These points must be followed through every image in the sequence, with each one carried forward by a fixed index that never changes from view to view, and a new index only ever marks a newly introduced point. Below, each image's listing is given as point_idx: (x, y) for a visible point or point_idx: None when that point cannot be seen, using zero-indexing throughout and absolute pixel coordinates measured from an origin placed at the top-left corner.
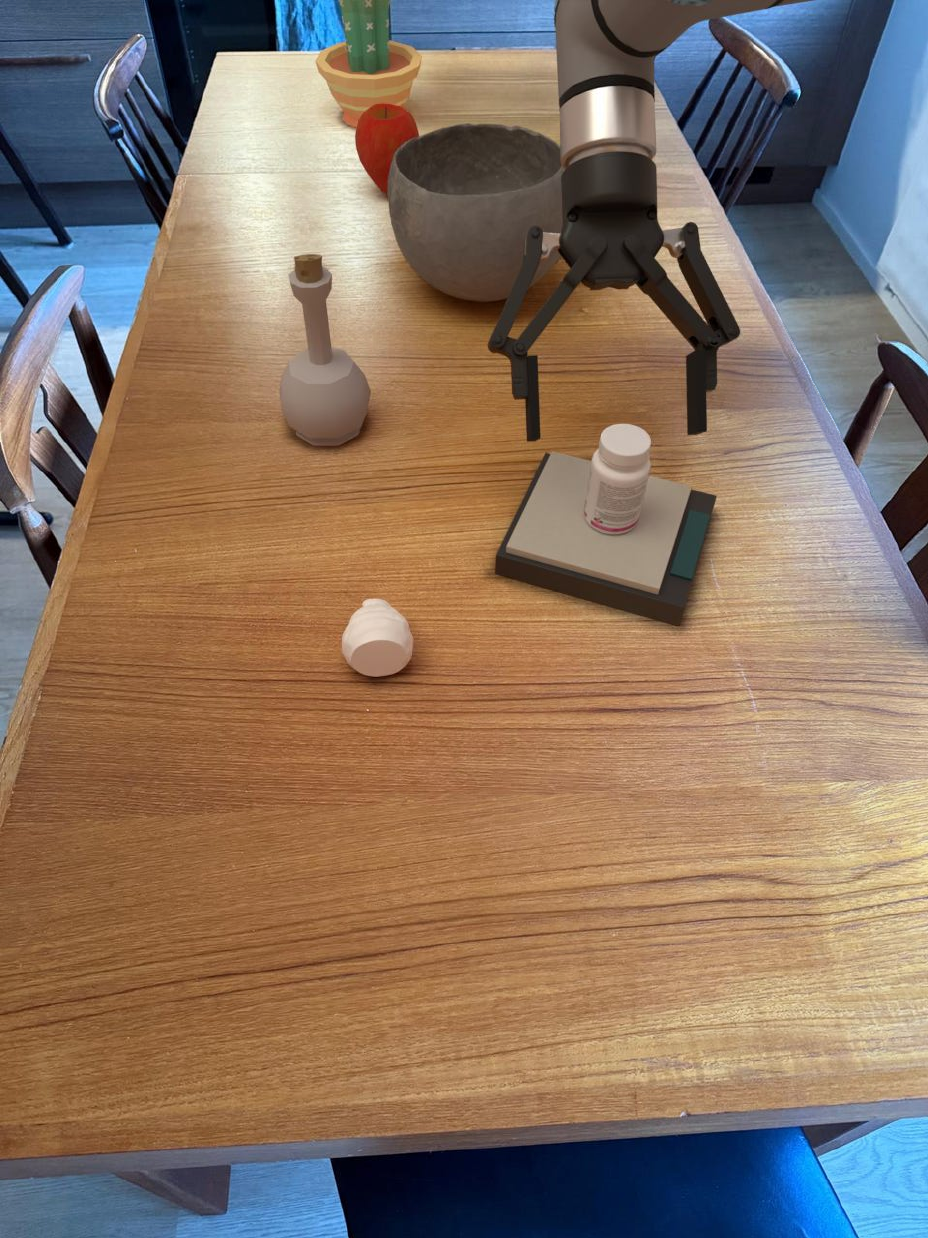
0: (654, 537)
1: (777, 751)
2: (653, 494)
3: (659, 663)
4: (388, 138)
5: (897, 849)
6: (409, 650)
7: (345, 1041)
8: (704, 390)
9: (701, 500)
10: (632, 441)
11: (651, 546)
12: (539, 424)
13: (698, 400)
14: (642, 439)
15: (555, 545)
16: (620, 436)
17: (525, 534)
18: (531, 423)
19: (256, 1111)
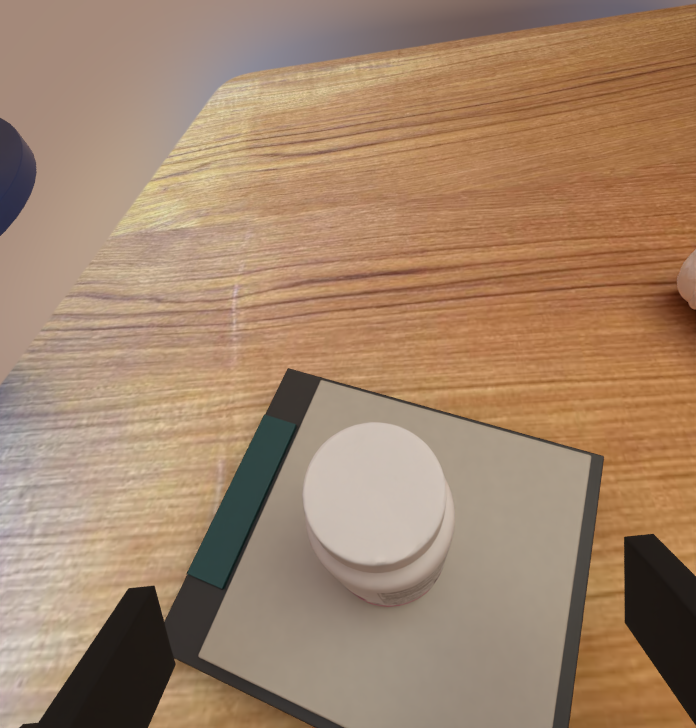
0: None
1: (229, 247)
2: (288, 623)
3: (333, 333)
4: None
5: (163, 184)
6: (687, 262)
7: (596, 47)
8: (66, 689)
9: (189, 628)
10: (355, 475)
11: None
12: (649, 561)
13: (106, 660)
14: (326, 487)
15: (496, 461)
16: (387, 497)
17: (559, 488)
18: (678, 563)
19: (641, 19)
